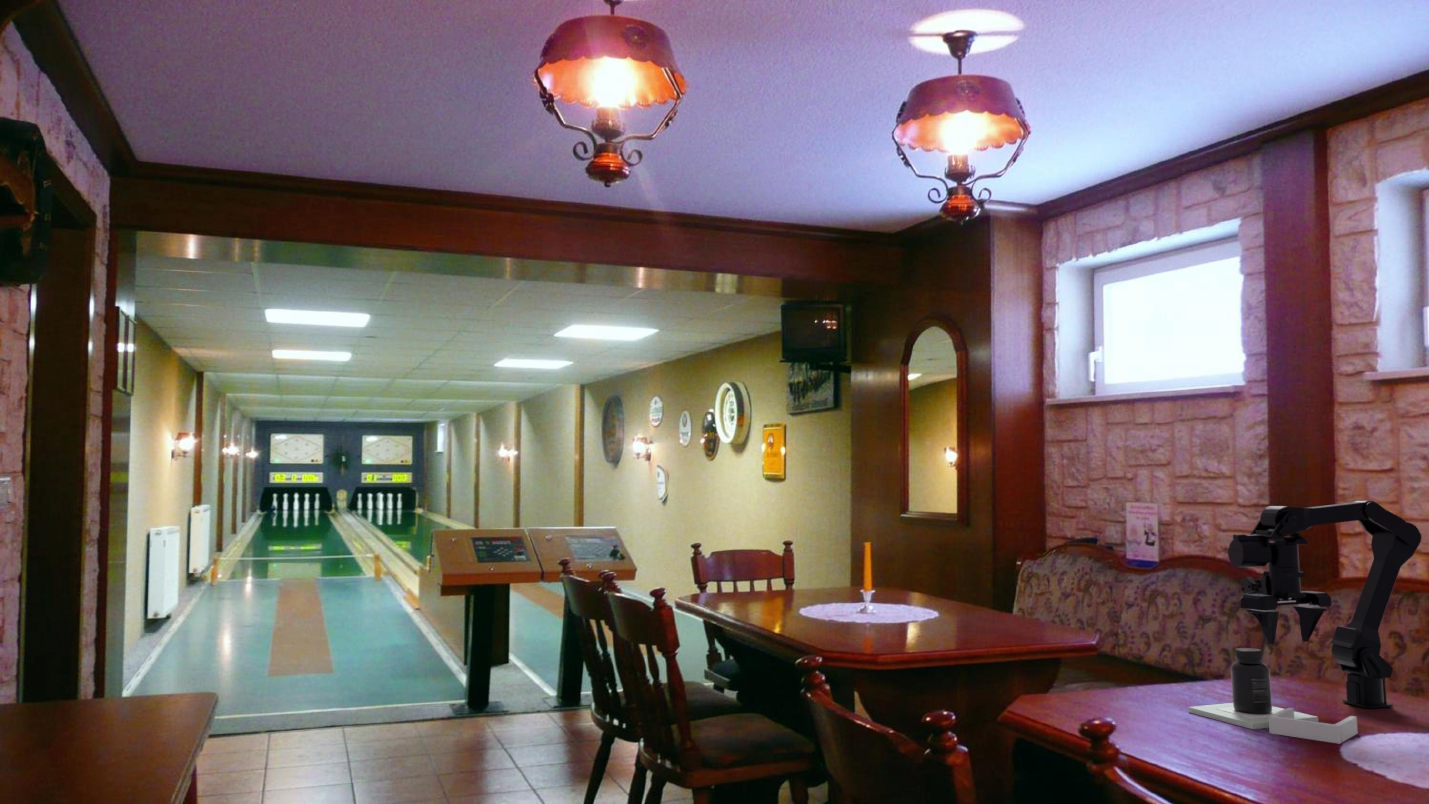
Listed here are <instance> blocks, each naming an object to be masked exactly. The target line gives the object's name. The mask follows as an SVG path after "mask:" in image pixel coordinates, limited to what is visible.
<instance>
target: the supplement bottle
mask: <svg viewBox="0 0 1429 804" xmlns="http://www.w3.org/2000/svg"><path fill="white" fill-rule="evenodd" d="M1234 653H1235V654H1234V655H1235V656H1234V659H1236V661H1234V662H1233V663H1232V664H1231V666H1230V677H1231V688H1232V691H1231V692H1232V703H1233V706H1234V709H1235V710H1236V711H1238V712H1241V713H1247V714H1268V713H1271V712H1272V706H1273V702H1272V689H1271V687H1272V686H1271V677H1270V676H1271V675H1270V668H1269V666H1268V665H1267V664H1266V663H1264V662H1263V660H1264V657H1263V650H1262V649H1260V648H1252V647H1250V648H1249V647H1239V648H1238V647H1237V648H1235V650H1234Z"/></svg>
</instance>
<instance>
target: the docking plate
mask: <svg viewBox="0 0 1429 804" xmlns="http://www.w3.org/2000/svg"><path fill="white" fill-rule="evenodd" d="M1284 709H1285V708H1283V707H1278V706H1273V705H1272V712H1271V713H1268V714H1247V713H1241V712H1238V711H1236V710H1235V709H1234V706H1233V702H1228V703H1227V702H1226V703H1216V704H1208V705H1207V704H1206V705H1196V706H1188V713H1190V714H1195V715H1198V716H1202V717H1205V718H1208V719H1209V718H1210V719H1213V720H1217V721H1220V722H1224V723H1227V724H1232V725H1236V726H1240V727H1243V728H1247V729H1249V730H1260V729H1269V716H1271V715H1273V714H1275V713H1277V712H1280V711H1282V710H1284ZM1294 719H1298V720H1305V721H1312V722H1319V717H1318V716H1316V715H1311V714H1307V713H1303V712H1300V711H1296V710H1294Z"/></svg>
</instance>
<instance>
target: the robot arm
mask: <svg viewBox="0 0 1429 804" xmlns="http://www.w3.org/2000/svg"><path fill="white" fill-rule="evenodd" d="M1355 521H1358V522H1359V524H1360V525H1361V527H1362V529H1364V531H1365V532H1366V533H1368V534H1369V535H1370V536H1371V543H1370V545H1371V546H1370V547H1371V550H1372V551H1371V552H1372V555H1373V559H1372V560H1373V561H1372V563H1371V566H1370V569H1369V572H1368V574H1367V577H1366V581H1365V583H1364V585H1363V589H1362V591H1361V594H1360V597H1359V599H1358V603H1357V605H1356V607H1355V611H1354V614H1353V616H1352V619H1351V621H1350V623H1348V624H1347V625H1346V626H1341V625H1337V626H1336V628H1335V631H1334V636H1333V637H1332V640H1331V641H1330V642H1329V644H1331V654H1332V655H1333V658H1334V659H1335V661H1336V662H1337V663H1338V666H1339V668H1340V671H1341V672H1345V673H1346V679H1347V680H1346V681H1345V687H1346V689H1345V690H1346V699H1342V703H1345V704H1348V705H1352V706H1357V707H1359V708H1364V709H1375V708H1376V709H1379V708H1392V707H1394V704H1393V703H1390V702H1389V703H1388V702H1387V689H1386V688H1387V687H1386V679H1390V678H1392V674H1393V669H1394V668H1393V666H1392V665H1390V664H1389V663H1388V662H1387V660H1385V658H1383V657H1382V656H1381V650H1382V642H1381V637H1380V634H1379V631H1380V626H1381V624H1382V621H1383V618H1384V615H1385V612H1386V609H1387V606H1388V604H1389V601H1390V599H1391V596H1392V592H1393V590H1394V588H1395V584H1396V581H1397V579H1398V576H1399V574H1400V570H1401V568H1402V567H1403V565H1405V564H1406V562H1408V561H1409V560H1410V559H1411V558H1412V557H1413V556H1414V554H1415V553H1416V551H1417V549H1418V548H1419V545H1420V544H1421V543H1422V542H1421V541H1422V538H1423V537H1422V533H1420V530H1419V528H1418V527H1417V526H1416V525H1415V524H1413V523H1412V522H1408V521H1406V520H1404V519H1403V518H1402V517H1401V516H1398V515H1397V514H1395V513H1393V512H1391V511H1390V510H1387V509H1385V508H1384V507H1383V506H1382V505H1380V504H1379V503H1377V502H1376V501H1374V500H1355V501H1351V502H1345V503H1335V504H1328V505H1319V506H1317V505H1316V506H1311V507H1310V506H1308V507H1303V506H1287V505H1286V506H1285V505H1278V506H1277V505H1269V506H1266V507H1265V508H1263V511H1262V512H1261V514H1260V519H1259V520H1258V522H1257V523H1256V524H1255V527H1254V528H1253V529H1252V531H1251V533H1250V534H1237V533H1233V535H1232V540H1231V541H1230V543H1229V546H1228V549H1227V556H1228V559H1229V562H1230V564H1231V565H1232V566H1233V567H1235V568H1265V567H1266V566H1267V570H1263V573H1262V578H1261V579H1254V577H1253V576H1247V577H1246V576H1245V577H1243V578H1241V579H1240V589H1241V592H1242V593H1243V595H1242V596H1241V597H1240V598H1239V601H1240V608H1241V609H1245V611H1246V612H1247V613H1250V614H1251V615H1252V616H1253V617H1255V618H1256V620H1257V622H1258V623H1259V624H1258V625H1259V626H1260V628H1261V630H1262V632H1263V635H1264V637H1265V640H1266V642H1267V644H1268V645H1274V644H1275V642H1276V641H1275V640H1276V635H1277V627H1278V622H1279V621H1278V620H1279V616H1280V612H1279V611H1277V610H1276V609H1277V608H1278V607H1279V606H1288V605H1289V606H1291V605H1293V609H1294V610H1295V612H1296V613H1297V614H1298V620H1299V627H1300V628H1299V629H1300V635H1301V640H1302V642H1303V643H1304V642H1305V643H1308V642H1309V641H1310V639H1311V637H1312V634H1313V633H1314V630H1315V628H1316V627H1317V625H1318V622H1319V621H1320V619H1321V617H1322V616H1323V614H1324V612H1326V611H1328V608H1329V607H1332V598H1331V596H1330V595H1329V593H1327V592H1326V591H1325V592H1323V591H1314V590H1302V587H1301V586H1302V585H1301V578H1305V577H1306V575H1305V574H1306V572H1305V571H1301V570H1300V555H1299V552H1300V551H1299V545H1309V541H1308V540H1307V538H1306V539H1305V537H1303V536H1302V535H1301V533H1302V532H1303V531H1307V530H1308V529H1310V528H1312V527H1315V526H1320V525H1328V524H1338V523H1347V522H1355ZM1300 532H1301V533H1300ZM1287 535H1289V536H1287ZM1270 540H1272V541H1270ZM1327 607H1328V608H1327Z"/></svg>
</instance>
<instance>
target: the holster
mask: <svg viewBox="0 0 1429 804" xmlns="http://www.w3.org/2000/svg"><path fill="white" fill-rule="evenodd" d="M1283 709H1284V710H1282V711H1280V712H1277V713H1275V714H1273V715H1271V716H1269V728H1268V731H1269V734H1273V735H1279V736H1285V737H1286V736H1287V737H1294V738H1299V739H1305V740H1312V741H1317V742H1325V743H1331V744H1338V745H1340V744H1342V743H1344V742H1345V741H1347V740H1349V739H1350V738H1353V737H1354V736H1356V735H1357V734H1358V731H1359V730H1358V720H1357V719H1358V718H1357V716H1353V715H1350V716H1348V717H1345V718H1343V719H1342V720H1341V721H1338V722H1336V723H1333V724H1332V723H1327V722H1326V723H1325V722H1319V721H1318V722H1312V721H1305V720H1298V719H1294V711H1295V709H1294V708H1293V707H1287V708H1283Z"/></svg>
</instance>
